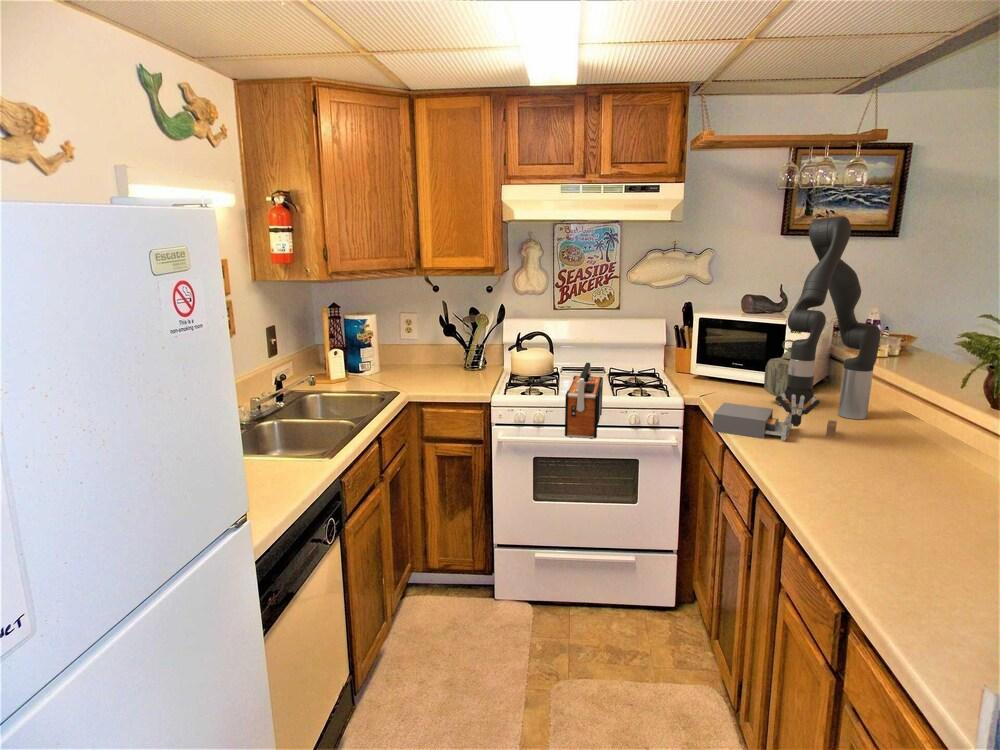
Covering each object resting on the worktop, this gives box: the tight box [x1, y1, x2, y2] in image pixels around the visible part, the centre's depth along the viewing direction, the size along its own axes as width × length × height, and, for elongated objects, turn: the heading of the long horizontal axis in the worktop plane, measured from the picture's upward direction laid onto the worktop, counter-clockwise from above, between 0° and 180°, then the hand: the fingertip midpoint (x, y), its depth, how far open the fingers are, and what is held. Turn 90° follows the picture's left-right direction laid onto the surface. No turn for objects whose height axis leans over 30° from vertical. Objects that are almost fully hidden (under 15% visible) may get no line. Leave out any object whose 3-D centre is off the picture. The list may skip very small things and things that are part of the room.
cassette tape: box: [765, 417, 779, 431], centre depth 211 cm, size 8×5×2 cm, turn 150°
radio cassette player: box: [564, 361, 604, 440], centre depth 214 cm, size 29×10×20 cm, turn 168°
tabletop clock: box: [763, 339, 794, 407], centre depth 241 cm, size 14×9×25 cm, turn 26°
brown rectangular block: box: [825, 419, 838, 438], centre depth 209 cm, size 6×2×4 cm, turn 149°
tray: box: [765, 412, 793, 441], centre depth 212 cm, size 16×16×5 cm
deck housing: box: [711, 402, 774, 440], centre depth 215 cm, size 16×16×6 cm
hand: (795, 425), depth 207 cm, fingers closed
